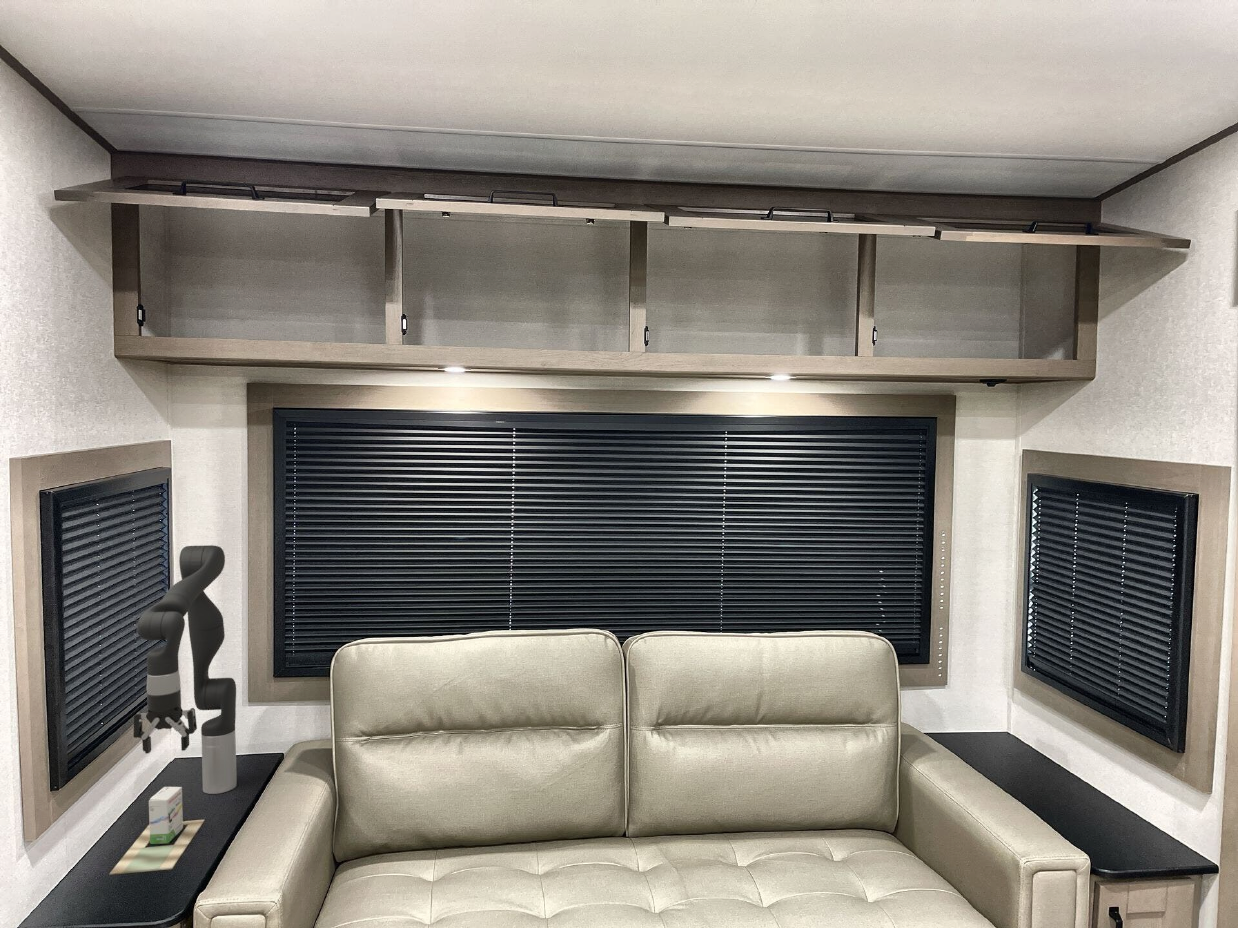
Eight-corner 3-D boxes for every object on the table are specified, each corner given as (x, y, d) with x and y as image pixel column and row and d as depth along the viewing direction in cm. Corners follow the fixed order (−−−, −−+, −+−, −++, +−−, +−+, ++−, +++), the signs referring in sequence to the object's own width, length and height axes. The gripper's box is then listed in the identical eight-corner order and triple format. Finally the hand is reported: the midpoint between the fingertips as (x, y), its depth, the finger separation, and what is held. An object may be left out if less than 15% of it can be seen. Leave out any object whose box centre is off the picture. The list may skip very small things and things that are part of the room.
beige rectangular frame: (149, 825, 228) (149, 823, 228) (204, 820, 231) (204, 818, 231) (109, 874, 202) (109, 872, 202) (171, 868, 205) (171, 867, 205)
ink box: (168, 843, 217) (167, 799, 217) (149, 844, 217) (147, 799, 217) (184, 828, 226) (182, 785, 225) (165, 828, 226) (164, 785, 225)
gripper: (198, 682, 218) (200, 742, 220) (138, 686, 216) (141, 747, 217) (189, 692, 211) (191, 754, 212) (127, 695, 208) (130, 759, 209)
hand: (166, 750), depth 215 cm, fingers open, 8 cm apart
